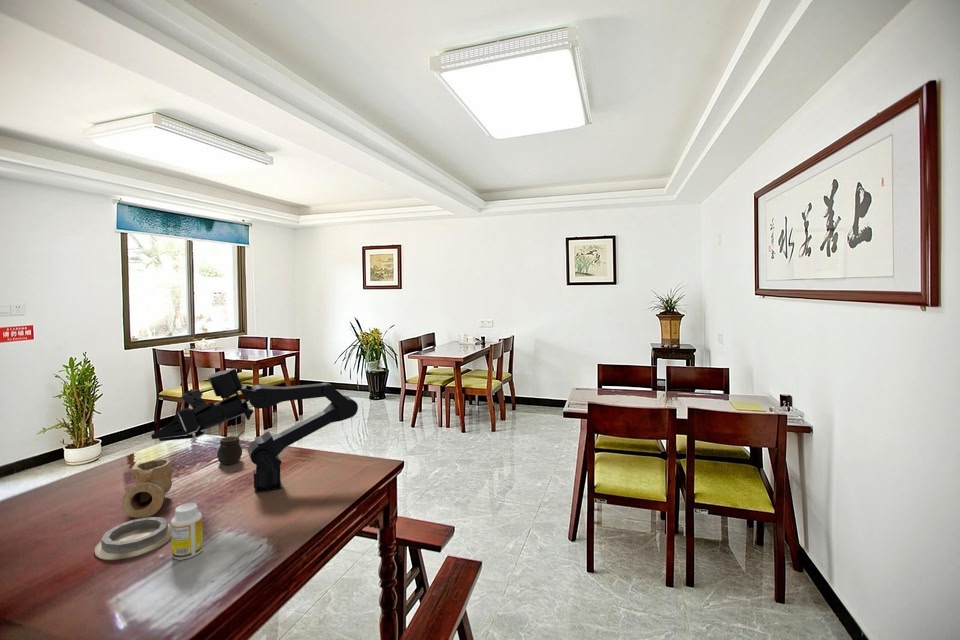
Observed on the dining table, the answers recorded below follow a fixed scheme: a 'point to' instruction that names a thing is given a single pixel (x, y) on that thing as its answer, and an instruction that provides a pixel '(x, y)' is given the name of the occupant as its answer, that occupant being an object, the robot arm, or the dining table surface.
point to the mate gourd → (229, 450)
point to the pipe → (147, 488)
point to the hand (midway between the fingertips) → (155, 438)
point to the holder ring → (133, 538)
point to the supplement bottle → (186, 532)
